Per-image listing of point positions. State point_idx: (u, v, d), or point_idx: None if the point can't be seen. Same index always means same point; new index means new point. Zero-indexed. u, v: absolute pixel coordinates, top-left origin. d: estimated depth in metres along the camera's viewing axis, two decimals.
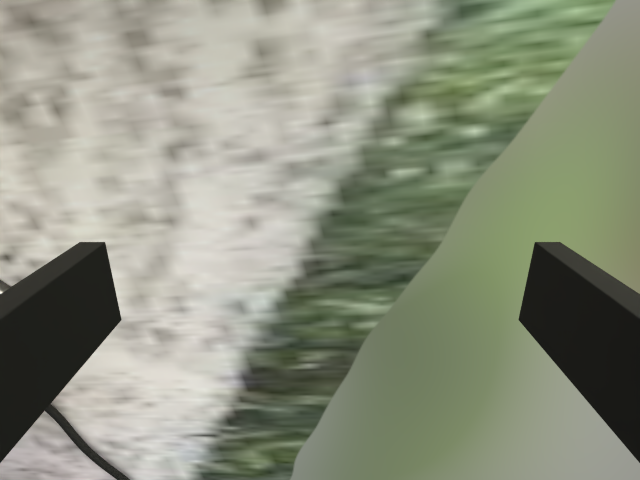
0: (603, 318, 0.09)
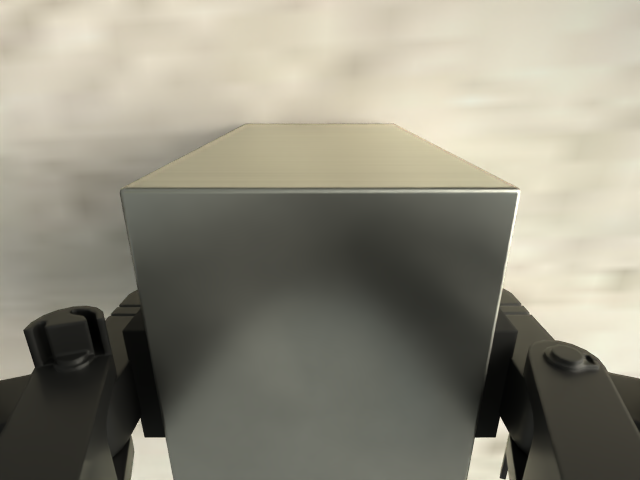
0: None
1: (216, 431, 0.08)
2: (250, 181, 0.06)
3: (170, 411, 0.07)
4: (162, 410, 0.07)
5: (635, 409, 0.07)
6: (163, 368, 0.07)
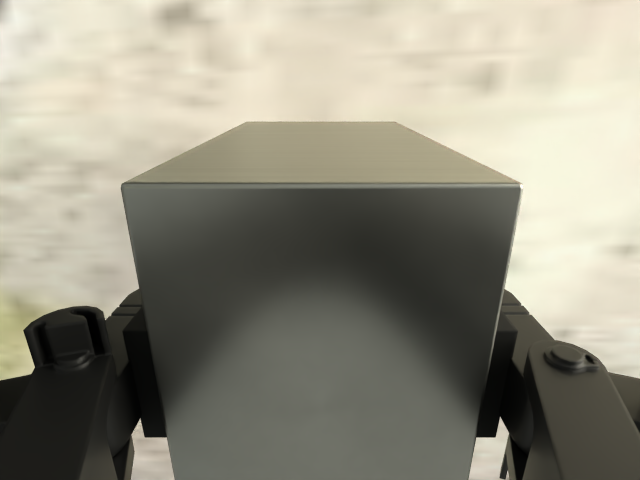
0: None
1: (217, 428, 0.08)
2: (252, 176, 0.06)
3: (171, 408, 0.07)
4: (163, 407, 0.07)
5: (635, 409, 0.07)
6: (164, 365, 0.07)
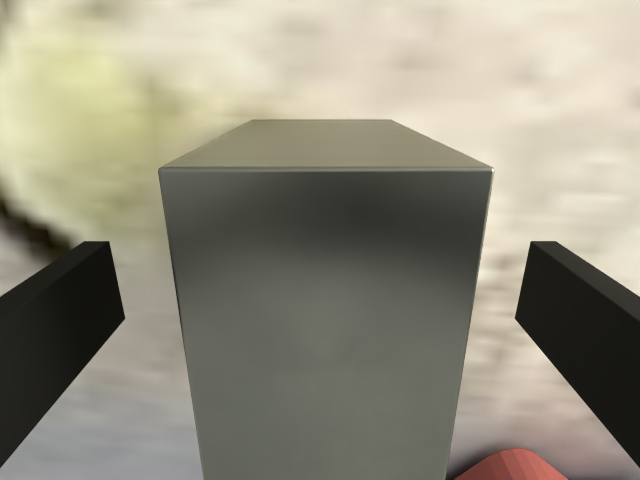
0: (597, 316, 0.09)
1: (234, 383, 0.09)
2: (267, 162, 0.07)
3: (195, 365, 0.09)
4: (188, 364, 0.09)
5: None
6: (190, 326, 0.08)
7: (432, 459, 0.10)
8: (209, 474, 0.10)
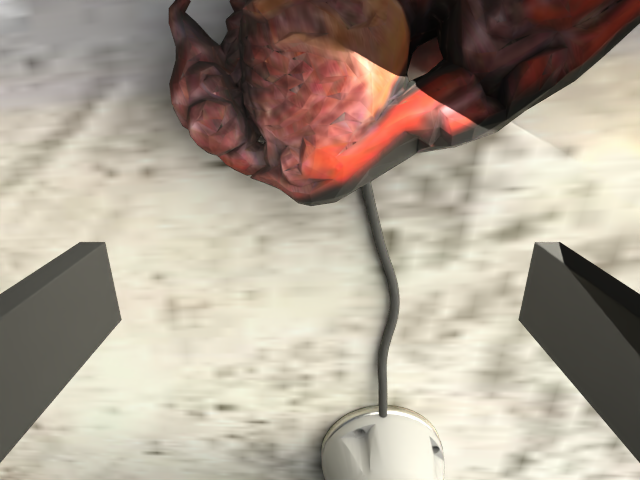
0: (603, 318, 0.09)
1: None
2: None
3: None
4: None
5: None
6: None
7: None
8: None
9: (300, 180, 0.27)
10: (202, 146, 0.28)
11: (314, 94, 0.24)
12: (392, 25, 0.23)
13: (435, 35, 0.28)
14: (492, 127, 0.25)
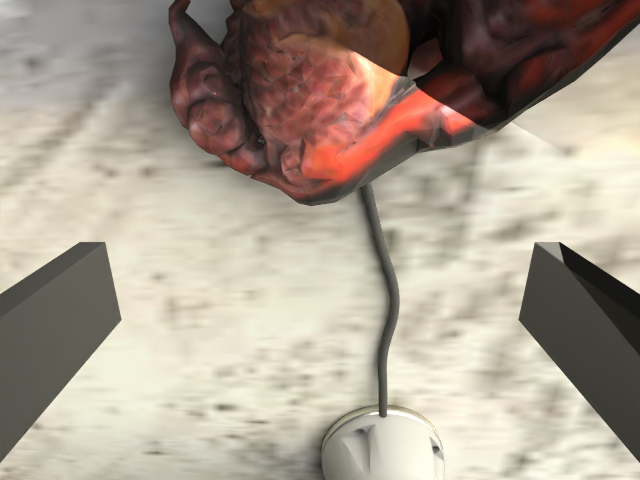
0: (603, 318, 0.09)
1: None
2: None
3: None
4: None
5: None
6: None
7: None
8: None
9: (300, 180, 0.27)
10: (202, 146, 0.28)
11: (314, 94, 0.24)
12: (392, 25, 0.23)
13: (435, 35, 0.28)
14: (492, 127, 0.25)
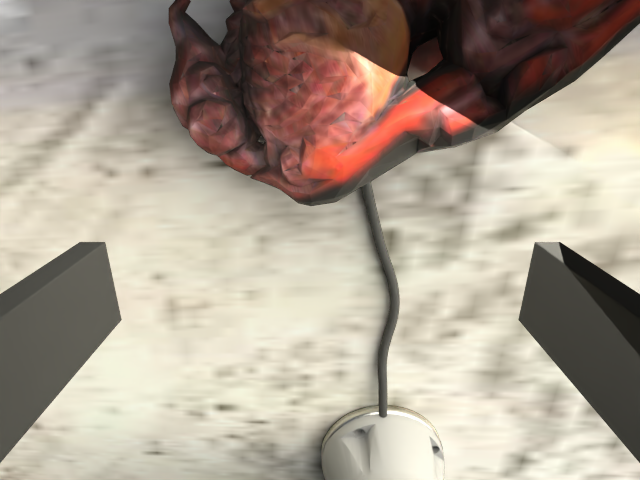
0: (603, 318, 0.09)
1: None
2: None
3: None
4: None
5: None
6: None
7: None
8: None
9: (300, 180, 0.27)
10: (202, 146, 0.28)
11: (314, 94, 0.24)
12: (392, 25, 0.23)
13: (435, 35, 0.28)
14: (492, 127, 0.25)
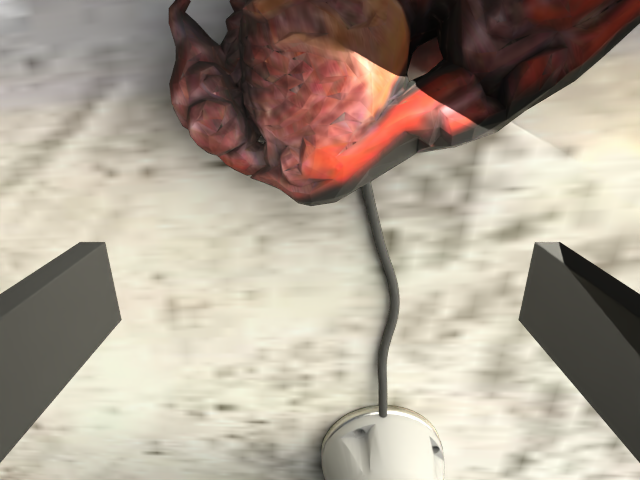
0: (603, 318, 0.09)
1: None
2: None
3: None
4: None
5: None
6: None
7: None
8: None
9: (300, 180, 0.27)
10: (202, 146, 0.28)
11: (314, 94, 0.24)
12: (392, 25, 0.23)
13: (435, 35, 0.28)
14: (492, 127, 0.25)
